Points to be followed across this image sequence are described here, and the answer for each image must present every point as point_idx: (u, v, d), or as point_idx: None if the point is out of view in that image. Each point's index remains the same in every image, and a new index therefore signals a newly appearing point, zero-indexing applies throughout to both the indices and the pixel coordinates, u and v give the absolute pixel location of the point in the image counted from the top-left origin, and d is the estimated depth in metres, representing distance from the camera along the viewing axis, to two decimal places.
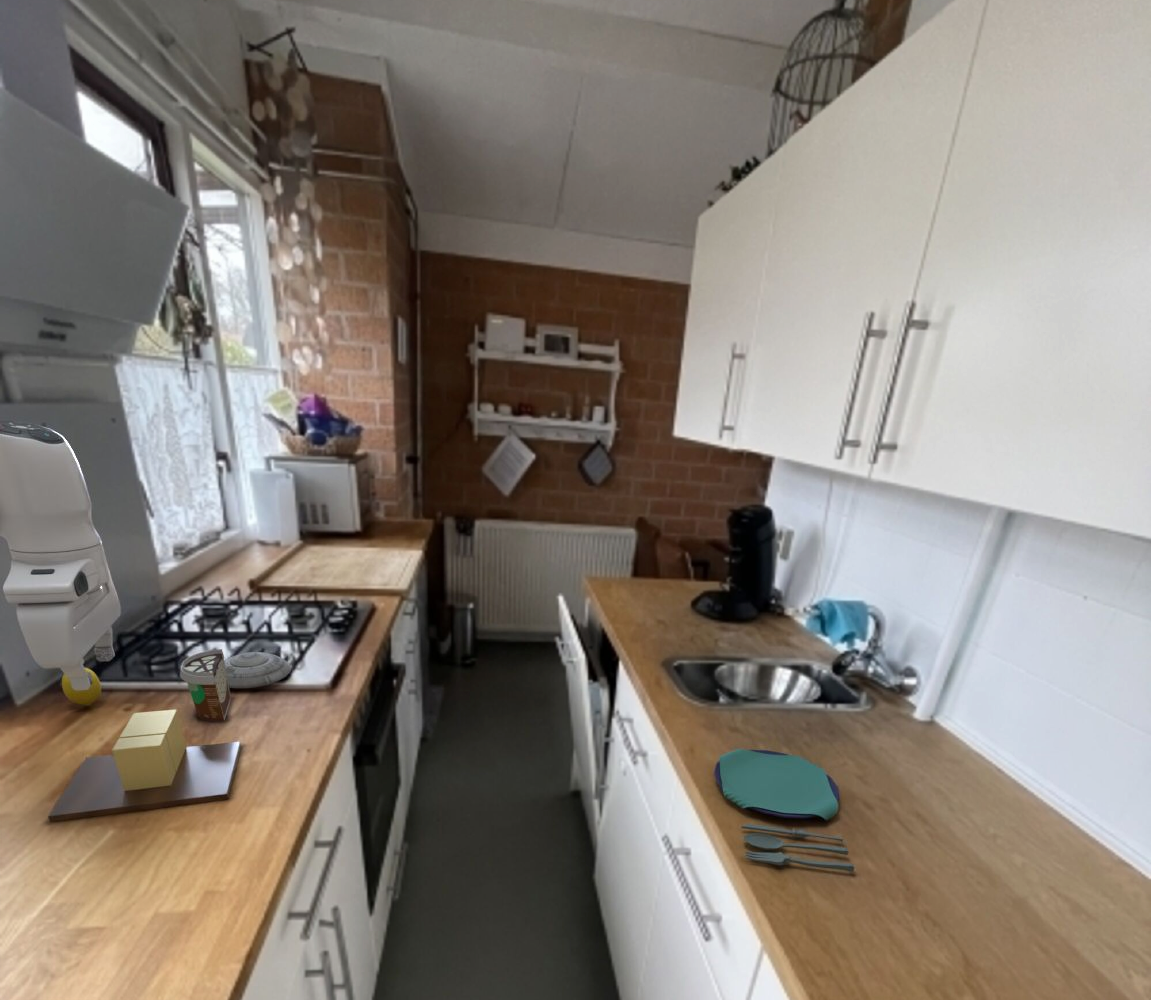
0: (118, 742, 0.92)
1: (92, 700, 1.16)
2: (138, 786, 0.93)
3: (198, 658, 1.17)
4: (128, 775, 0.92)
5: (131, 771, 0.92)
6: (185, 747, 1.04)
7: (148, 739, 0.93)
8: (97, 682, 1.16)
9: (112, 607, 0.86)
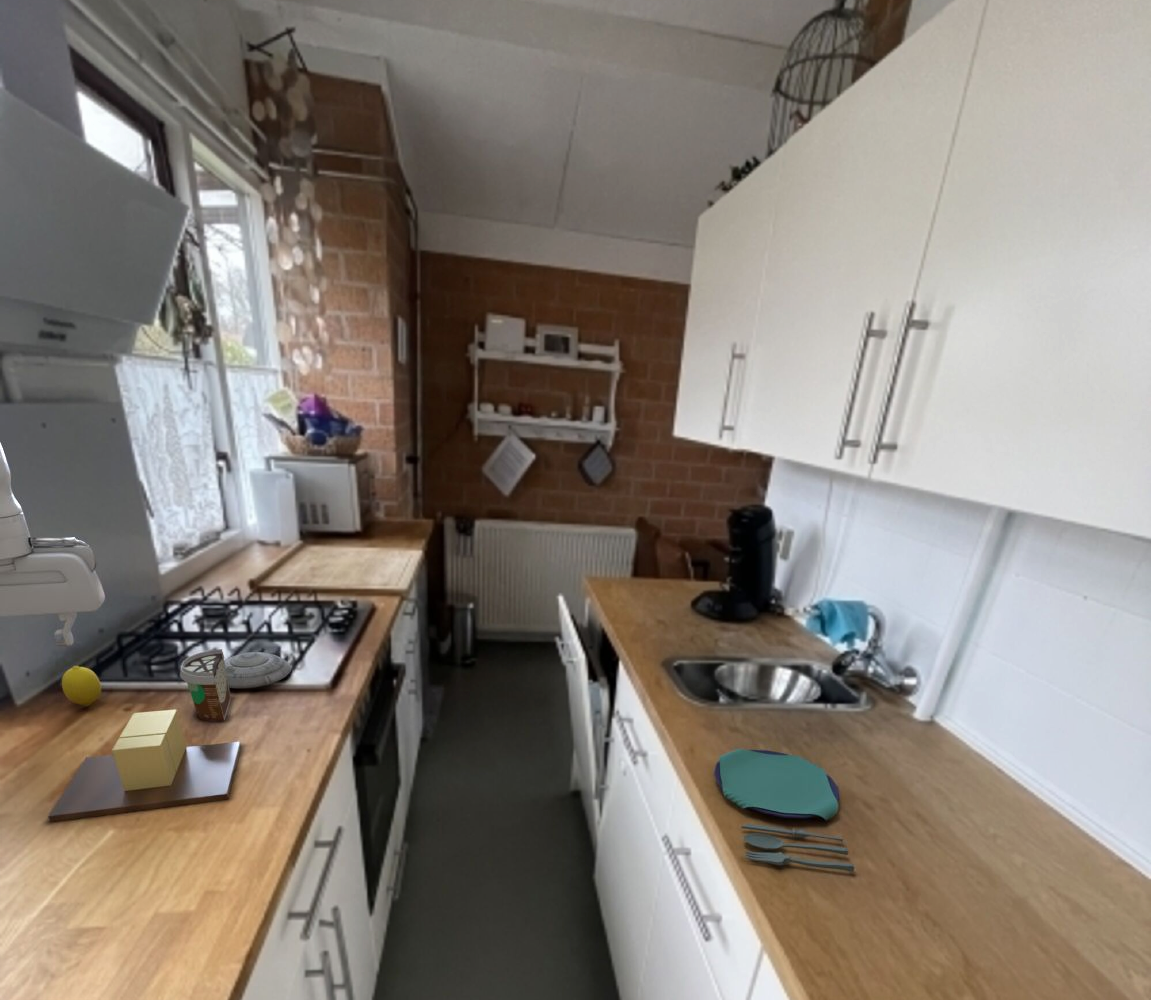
0: (118, 742, 0.92)
1: (92, 700, 1.16)
2: (138, 786, 0.93)
3: (198, 658, 1.17)
4: (128, 775, 0.92)
5: (131, 771, 0.92)
6: (185, 747, 1.04)
7: (148, 739, 0.93)
8: (97, 682, 1.16)
9: (63, 597, 0.79)
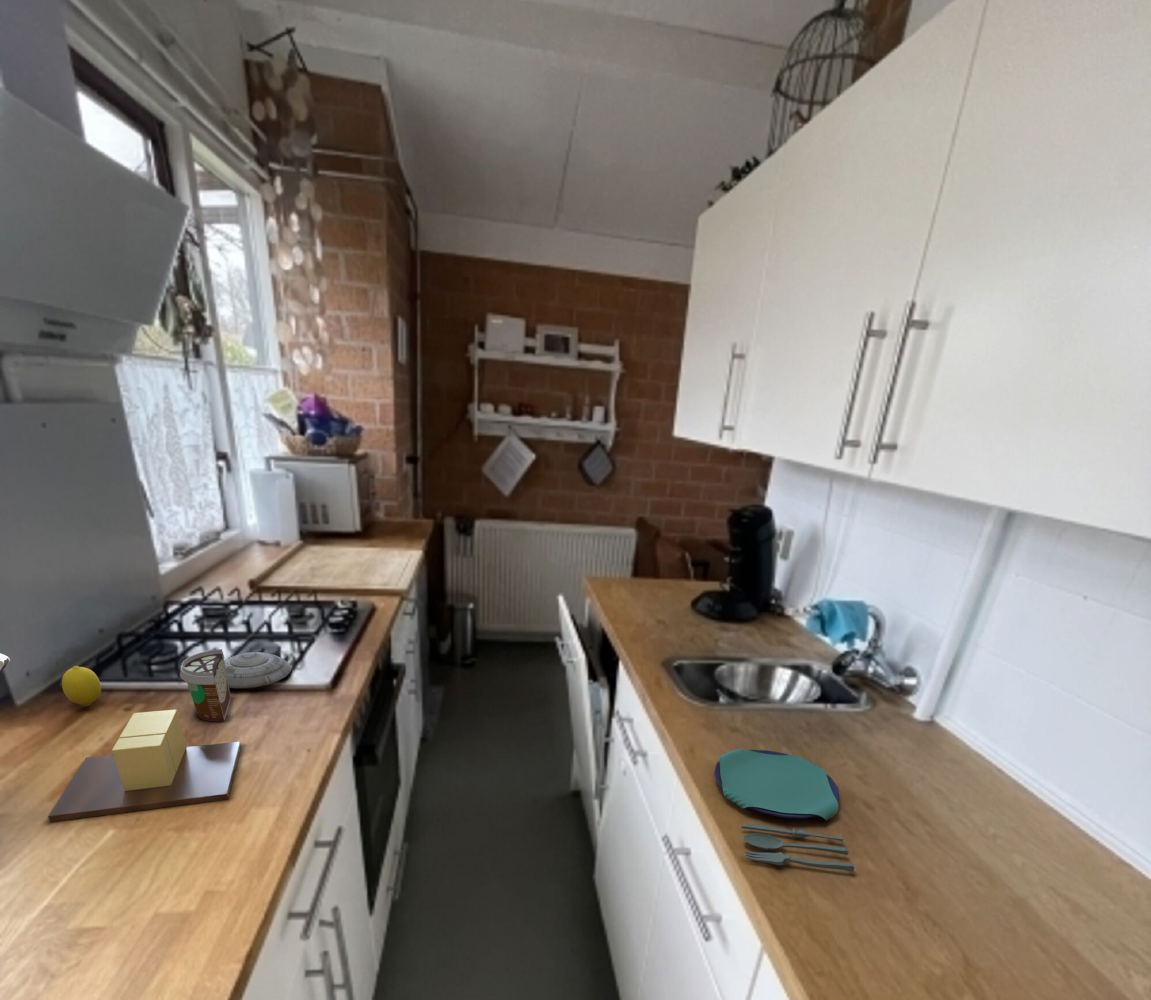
0: (118, 742, 0.92)
1: (92, 700, 1.16)
2: (138, 786, 0.93)
3: (198, 658, 1.17)
4: (128, 775, 0.92)
5: (131, 771, 0.92)
6: (185, 747, 1.04)
7: (148, 739, 0.93)
8: (97, 682, 1.16)
9: None
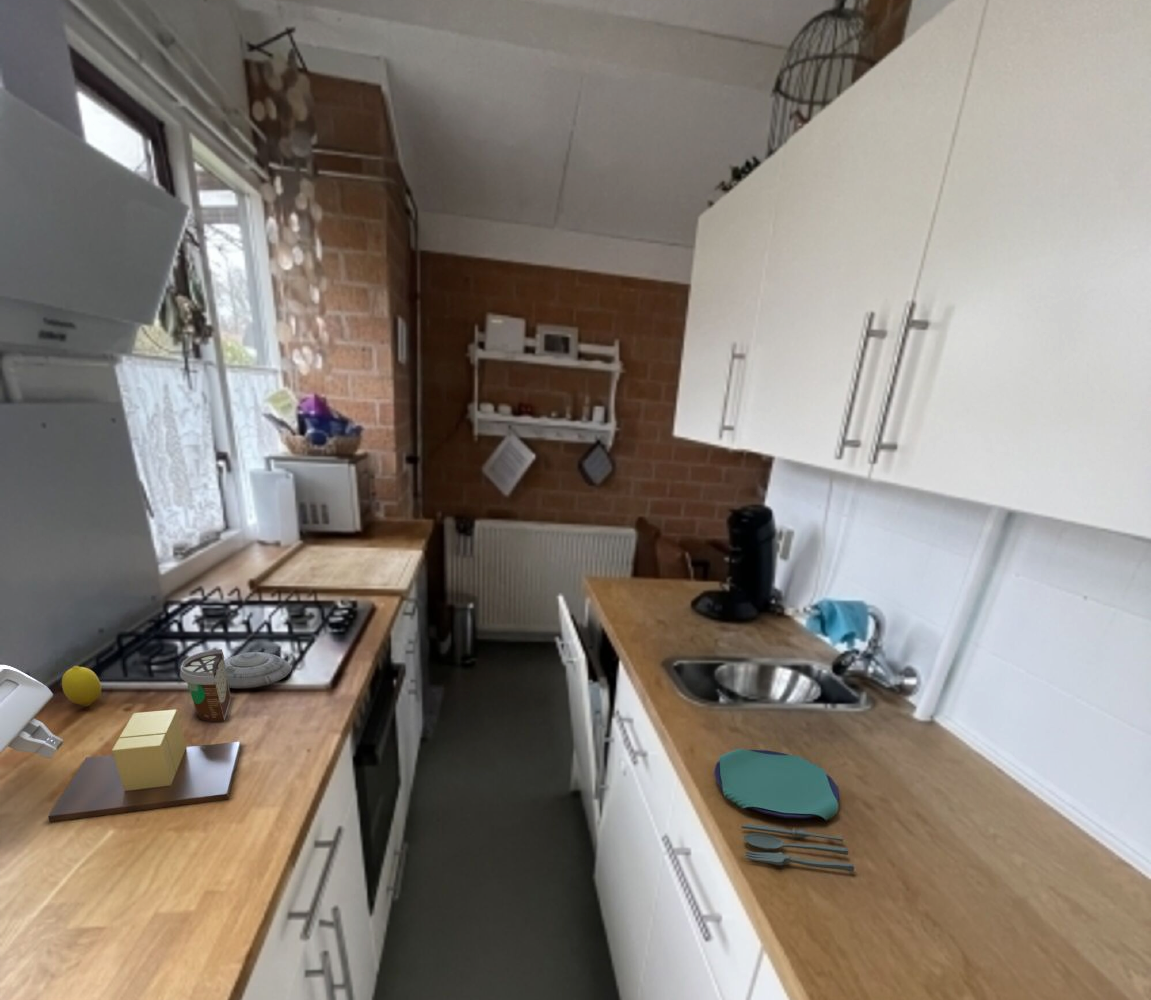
0: (118, 742, 0.92)
1: (92, 700, 1.16)
2: (138, 786, 0.93)
3: (198, 658, 1.17)
4: (128, 775, 0.92)
5: (131, 771, 0.92)
6: (185, 747, 1.04)
7: (148, 739, 0.93)
8: (97, 682, 1.16)
9: None
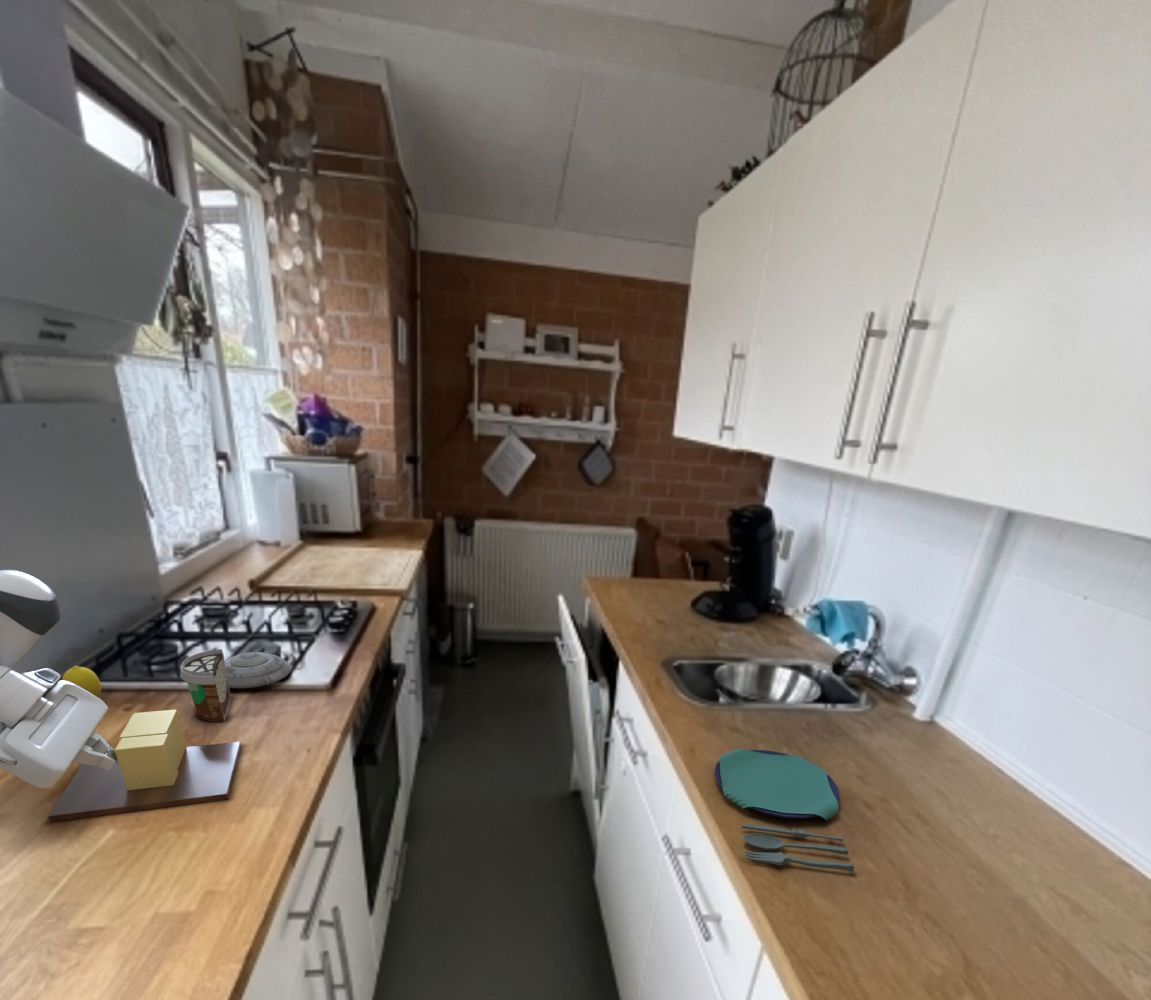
0: (121, 742, 0.92)
1: None
2: (141, 786, 0.93)
3: (198, 658, 1.17)
4: (131, 775, 0.92)
5: (134, 771, 0.92)
6: (185, 747, 1.04)
7: (151, 739, 0.93)
8: (97, 682, 1.16)
9: None
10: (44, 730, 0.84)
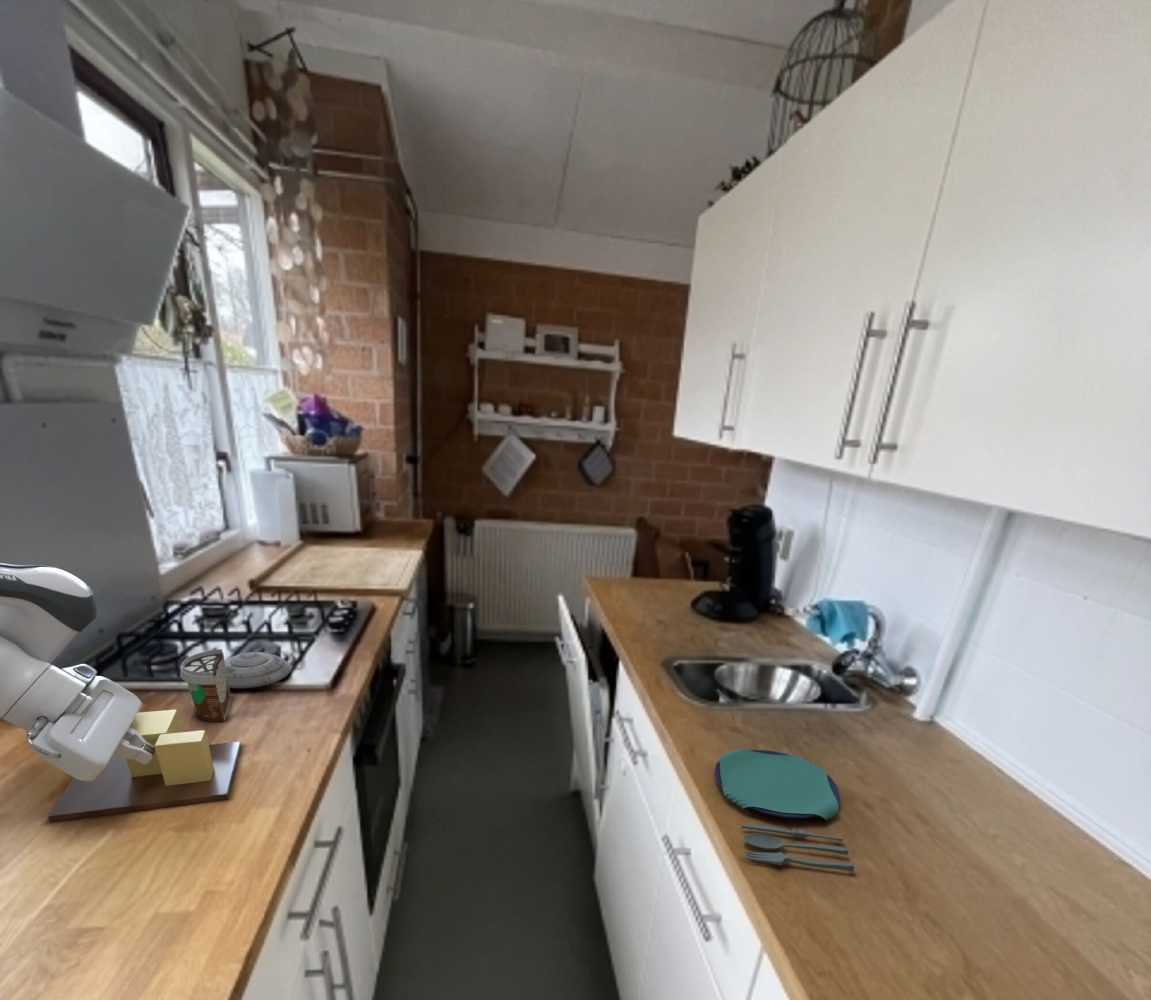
0: (160, 738, 0.93)
1: None
2: (179, 781, 0.95)
3: (198, 658, 1.17)
4: (169, 771, 0.94)
5: (172, 767, 0.94)
6: None
7: (189, 735, 0.94)
8: None
9: None
10: (85, 724, 0.85)
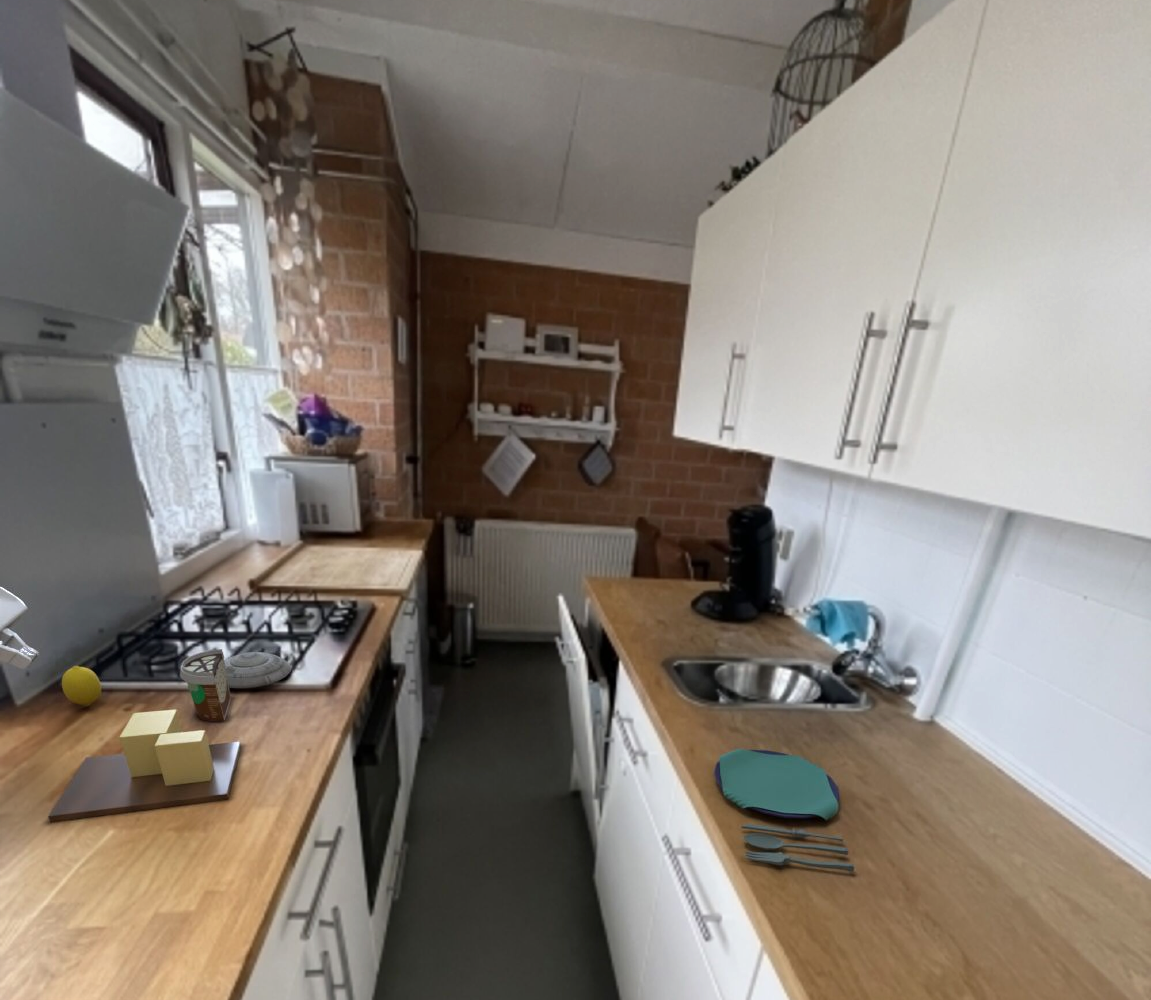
0: (160, 738, 0.93)
1: (92, 700, 1.16)
2: (179, 781, 0.95)
3: (198, 658, 1.17)
4: (169, 771, 0.94)
5: (172, 767, 0.94)
6: None
7: (189, 735, 0.94)
8: (97, 682, 1.16)
9: None
10: None
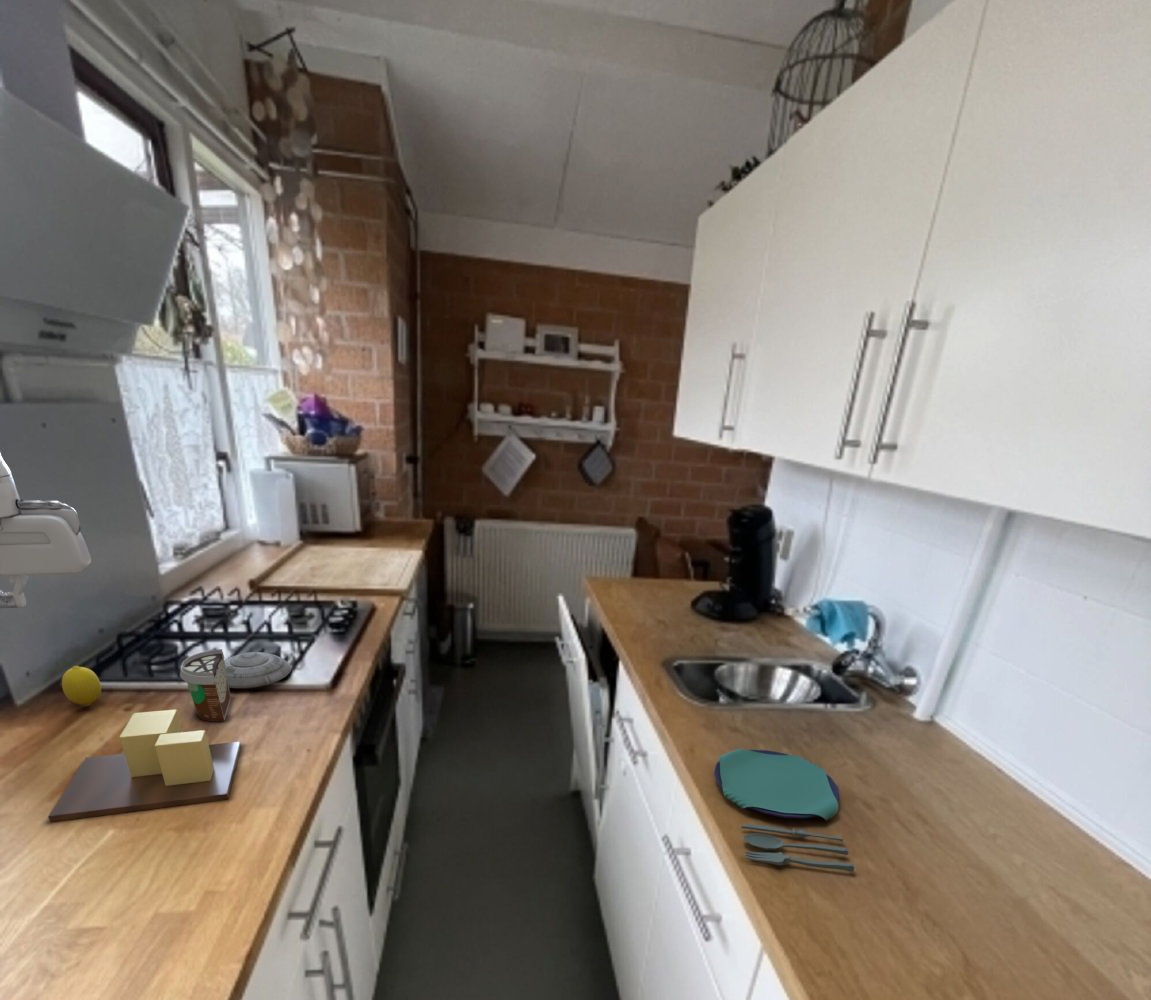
0: (160, 738, 0.93)
1: (92, 700, 1.16)
2: (179, 781, 0.95)
3: (198, 658, 1.17)
4: (169, 771, 0.94)
5: (172, 767, 0.94)
6: None
7: (189, 735, 0.94)
8: (97, 682, 1.16)
9: (48, 558, 0.83)
10: None
